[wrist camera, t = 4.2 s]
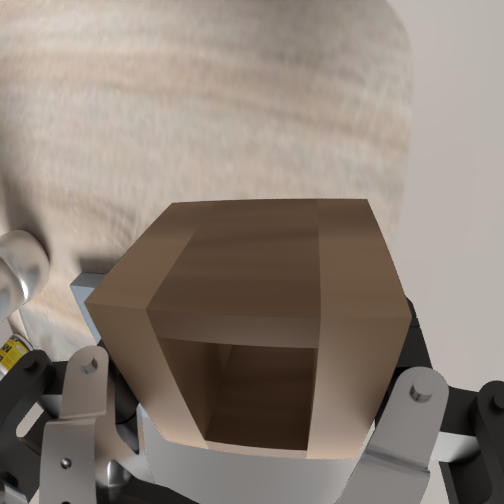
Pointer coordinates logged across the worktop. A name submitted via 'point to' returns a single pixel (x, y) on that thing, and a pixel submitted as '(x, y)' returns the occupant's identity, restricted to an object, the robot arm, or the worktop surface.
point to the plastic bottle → (20, 270)
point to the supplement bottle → (12, 353)
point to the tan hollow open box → (257, 324)
